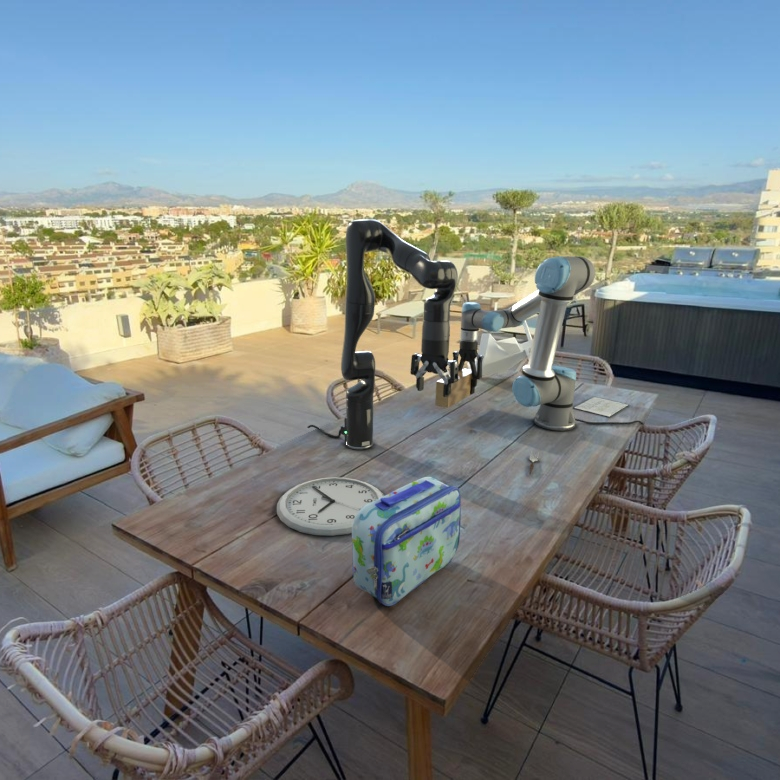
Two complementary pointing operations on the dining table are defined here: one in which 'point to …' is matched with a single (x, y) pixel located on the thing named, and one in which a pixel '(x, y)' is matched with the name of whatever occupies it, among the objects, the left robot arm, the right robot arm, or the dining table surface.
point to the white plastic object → (502, 353)
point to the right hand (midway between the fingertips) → (465, 392)
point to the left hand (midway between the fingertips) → (433, 393)
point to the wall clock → (325, 505)
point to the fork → (533, 461)
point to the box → (454, 389)
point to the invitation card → (601, 406)
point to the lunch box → (405, 538)
